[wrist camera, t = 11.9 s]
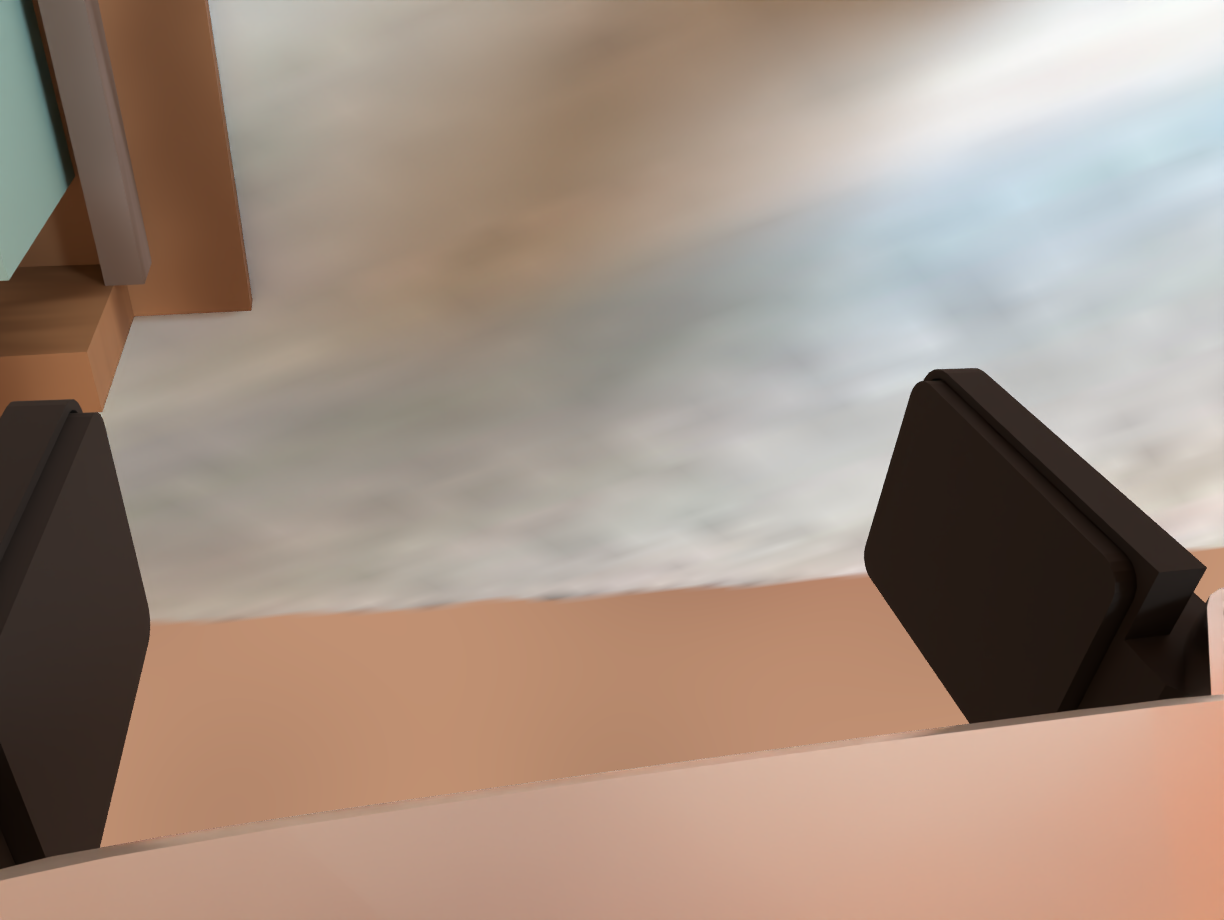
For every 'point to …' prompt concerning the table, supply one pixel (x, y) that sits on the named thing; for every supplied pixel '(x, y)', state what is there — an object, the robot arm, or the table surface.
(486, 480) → the table surface
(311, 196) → the table surface
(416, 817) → the robot arm
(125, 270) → the brown wooden holder
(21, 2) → the door panel
